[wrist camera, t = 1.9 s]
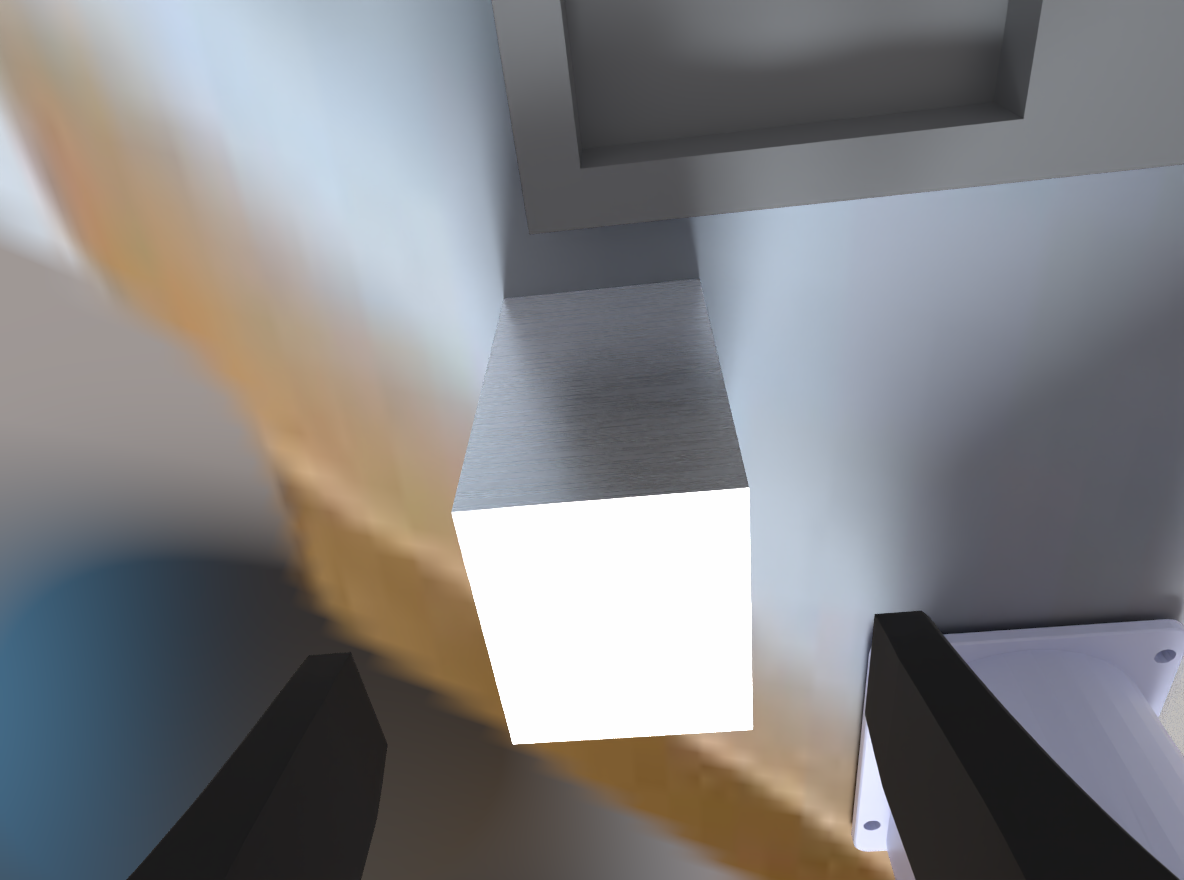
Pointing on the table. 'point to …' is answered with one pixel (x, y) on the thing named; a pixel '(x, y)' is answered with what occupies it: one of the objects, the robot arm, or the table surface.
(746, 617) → the block
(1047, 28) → the pallet
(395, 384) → the table surface
